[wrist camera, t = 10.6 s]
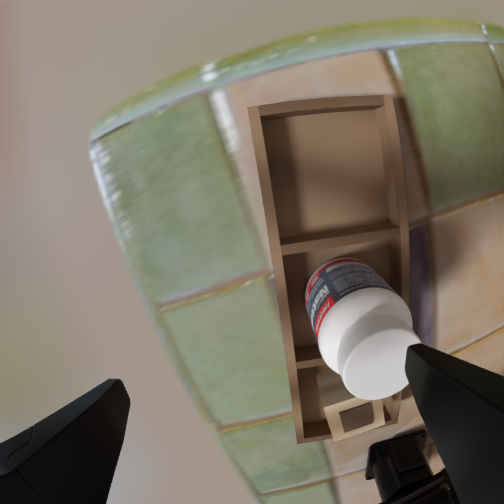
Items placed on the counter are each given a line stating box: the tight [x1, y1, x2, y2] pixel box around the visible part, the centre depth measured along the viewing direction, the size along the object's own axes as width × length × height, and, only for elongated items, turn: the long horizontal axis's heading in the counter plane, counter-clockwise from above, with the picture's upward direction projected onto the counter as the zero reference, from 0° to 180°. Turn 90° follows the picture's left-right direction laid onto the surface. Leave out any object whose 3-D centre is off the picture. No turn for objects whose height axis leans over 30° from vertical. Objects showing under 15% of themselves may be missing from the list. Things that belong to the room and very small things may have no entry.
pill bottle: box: [305, 257, 422, 400], centre depth 17 cm, size 5×5×9 cm
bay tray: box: [247, 95, 410, 444], centre depth 21 cm, size 25×9×2 cm, turn 9°
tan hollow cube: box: [315, 369, 385, 441], centre depth 21 cm, size 4×4×4 cm
